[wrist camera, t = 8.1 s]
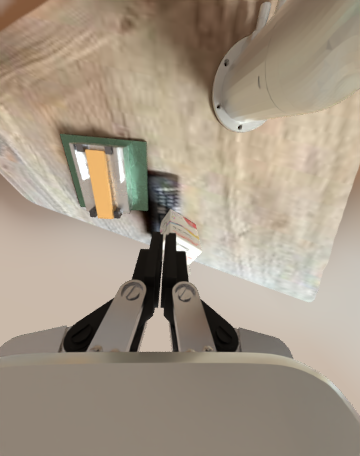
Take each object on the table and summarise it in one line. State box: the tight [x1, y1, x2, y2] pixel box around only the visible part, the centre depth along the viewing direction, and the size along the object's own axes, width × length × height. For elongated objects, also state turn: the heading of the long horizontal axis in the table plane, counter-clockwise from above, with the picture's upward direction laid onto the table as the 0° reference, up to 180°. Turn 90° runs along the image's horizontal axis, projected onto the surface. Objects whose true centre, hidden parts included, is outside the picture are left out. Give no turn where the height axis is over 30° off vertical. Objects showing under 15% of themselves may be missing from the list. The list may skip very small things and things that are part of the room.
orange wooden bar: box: [85, 149, 114, 219], centre depth 29 cm, size 13×3×1 cm, turn 175°
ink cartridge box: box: [160, 209, 202, 274], centre depth 35 cm, size 9×5×15 cm, turn 55°
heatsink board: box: [60, 134, 148, 218], centre depth 31 cm, size 15×16×7 cm
